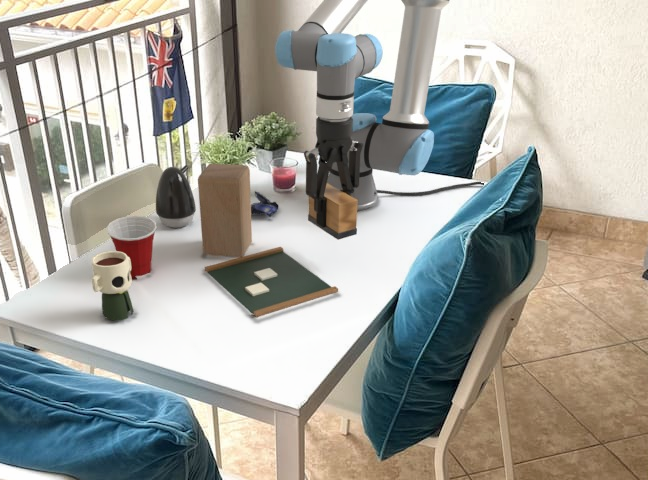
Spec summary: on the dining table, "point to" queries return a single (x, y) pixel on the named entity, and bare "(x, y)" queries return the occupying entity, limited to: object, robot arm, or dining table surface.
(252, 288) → the chalk flake
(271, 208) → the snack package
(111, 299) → the character mug
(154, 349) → the dining table surface
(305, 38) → the robot arm
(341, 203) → the eraser
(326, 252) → the dining table surface
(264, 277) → the chalk flake
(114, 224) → the plastic cup
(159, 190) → the black egg-shaped piece
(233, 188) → the block
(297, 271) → the chalkboard
